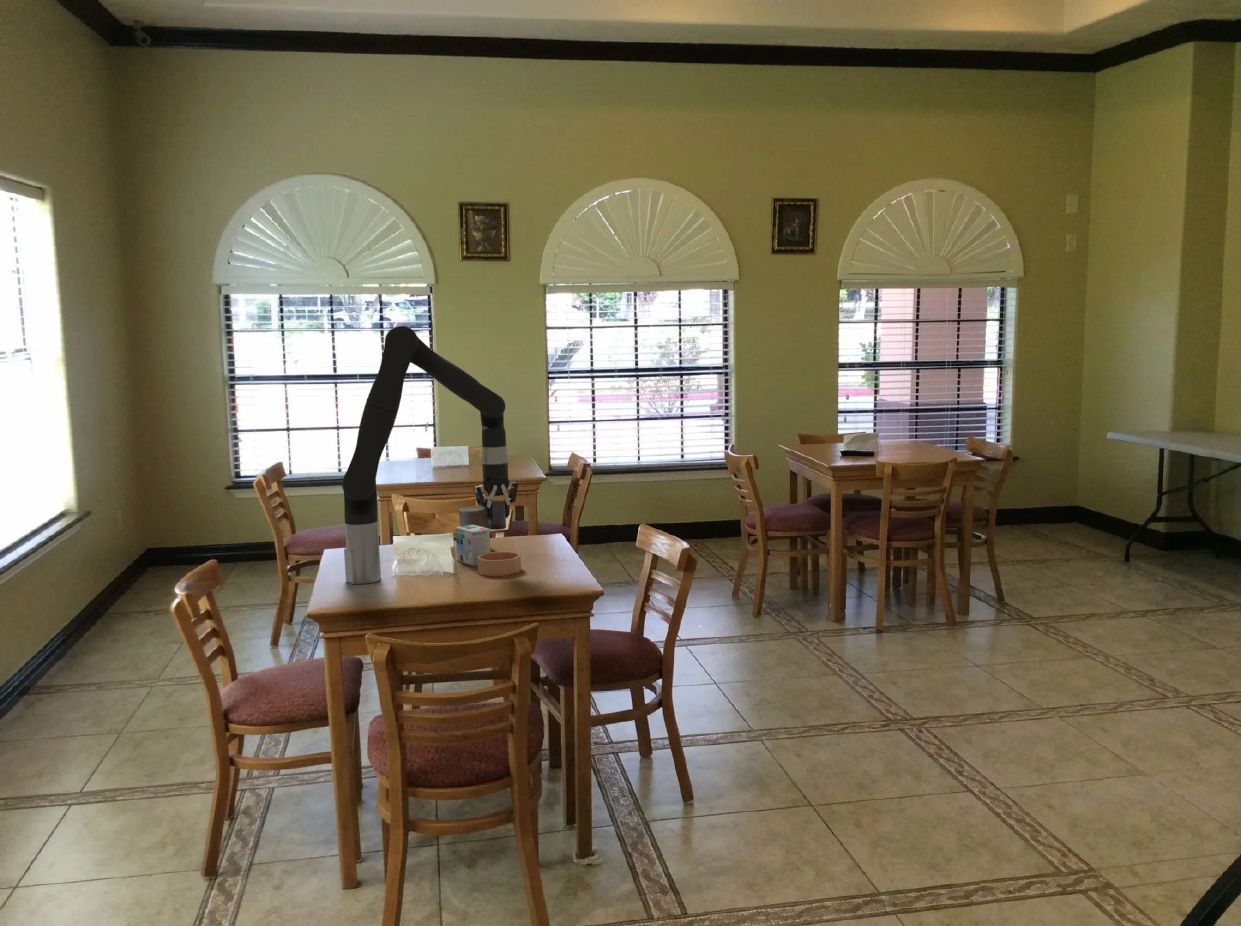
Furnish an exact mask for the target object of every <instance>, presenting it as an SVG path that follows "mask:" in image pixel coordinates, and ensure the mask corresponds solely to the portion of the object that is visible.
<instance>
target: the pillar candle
mask: <svg viewBox="0 0 1241 926" xmlns="http://www.w3.org/2000/svg"><path fill="white" fill-rule="evenodd" d="M458 511H459V512H458V515H459V527H461V526H468V525H477V526H480V527H484V528H488V529H489V520H487V519H486V518H485V516H484V507H483V506H480V505H477V506H476V505H473V506H466V507H461V508H459V509H458Z"/></svg>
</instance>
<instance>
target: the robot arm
mask: <svg viewBox="0 0 1241 926" xmlns="http://www.w3.org/2000/svg"><path fill="white" fill-rule="evenodd" d="M382 351H383V353H382V358H381V361H380V365H379V370H378V372H377V374H376V377H375V379H374V382H373V383H372V386H371V388H370V390H369V392H368V395H367V398H366V401H365V404H364V407H363V410H362V414H361V418H360V423H359V427H358V433H357V438H356V445H355V449H354V452H353V455H352V458H351V460H350V463H349V465H348V468H347V469H346V472H345V473H344V475H343V478H342V480H341V488H342V490H343V499H344V500H343V501H344V506H343V507H344V509H343V510H344V513H343V515H344V528H345V529H344V530H345V532H344V533H345V548H344V549H343V551H344V552H343V553H344V555H343V556H344V569H345V570H344V571H345V573H344V574H345V581H346V582H348V583H349V584H351V585H363V584H371V583H375V582H378V581H379V582H380V581H381V580H382V571H381V570H382V569H381V556H380V555H381V552H380V537H379V536H380V535H379V519H378V510H379V509H378V494H377V473H378V469H379V463H380V460H381V457H382V454H383V452H384V449H385V447H386V445H387V443H388V441H389V440H390V439H389V438H390V436H391V434H392V431H393V428H394V427H395V426H394V425H395V422H396V419H397V416H398V412H399V409H400V404H401V399H402V396H403V388H404V381H405V379H406V374H407V371H408V370H409V367H410V365H411V364H412V365H414V366H416V367H418V368H419V369H421V370H423V371H424V372H425V373H426V374H428V375H430V377H432V378H433V379H435V381H437V382H438V383H439V384H441V385H442V386H443V387H444V388H445V389H447V390H449V391H450V392H451V393H453V394H454V395H456V396H457V397H458V398H460V399H462V400H464V401H465V402H467V403H468V404H470V405H471V406H473V407H474V408H475V409H476V410H478V411H479V414H480V422H481V448H482V449H481V464H482V466H481V467H482V469H481V470H482V479H483V480H482V483H481V484H480V485H478V486H477V485H475V486H473V493H474V495H475V499H476V503H477V506H483V507H484V516H485V518H486V519H487V520H491V519H492V516H491V508H490V506H491V503H492V500H493V496H495V495H505V509H506V519H507V518H509V516H510V514H511V511H510V505H511V504H512V503H516V501H517V500H516V499H517V493H518V487H519V483H518V482H515V481H510V480H509V461H508V459H509V456H508V449H507V435H506V434H507V433H506V429H505V422H504V420H505V419H504V413H505V411H506V402H505V400H504V398H503V397H502V396H500V395H499V394H497V393H496V392H494V391H492V390H491V389H489V388H488V387H487V386H485V385H483V384H482V383H480V382H479V381H478V380H477V379H476V378H475V377H473V376H472V375H470V374H469V373H468V372H467V371H465V370H464V369H462V368H460V366H457V365H456V364H454V363H453V362H451V361H449V360H447V359H446V358H444V357H443V356H441V355H440V354H438V353H437V352H435V351H434V350H433V349H432V348H430V347H429V346H428V345H427V344H426V343H425V342H424V341H422V340H421V339H420V338H419V336H418V335H417V333H416V332H415V330H414V329H412V328H411V327H409V326H407V325H403V324H402V325H395V326H394V327H392V328H390V329H389V330H388V331H387V333H386V335H385V338H384V347H383V350H382ZM508 488H509V493H508V492H507V490H508ZM484 491H485V495H483V492H484ZM488 495H490V496H489V497H488ZM380 579H381V580H380Z"/></svg>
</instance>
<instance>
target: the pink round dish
mask: <svg viewBox="0 0 1241 926" xmlns="http://www.w3.org/2000/svg"><path fill="white" fill-rule="evenodd" d="M521 555H522V554H521V553H519V552H515V551H491V553H485V554H482V555H479V556H478V558H477V564H478V565H477V574H479V575H481V576H489V577H499V576H500V577H503V576H510V574H511V575H515V574H514V573H516V574H518V573H520V572H522V560H521V559H522V558H521V557H522V556H521Z"/></svg>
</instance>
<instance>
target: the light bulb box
mask: <svg viewBox="0 0 1241 926" xmlns="http://www.w3.org/2000/svg"><path fill="white" fill-rule="evenodd" d="M490 530H491V529H488V528H484V527H480V526H477V525H468V526H461V527H460V526H455V543H456V545H455V546H456V547H455V549H456V561H458V562H461V563H463V564H465V565H469V566H472V567H474V566H478V564H477V558H478V556H479V555H482V554H485V553H491V552H492V551H491V548H490V547H491V531H490Z"/></svg>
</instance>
